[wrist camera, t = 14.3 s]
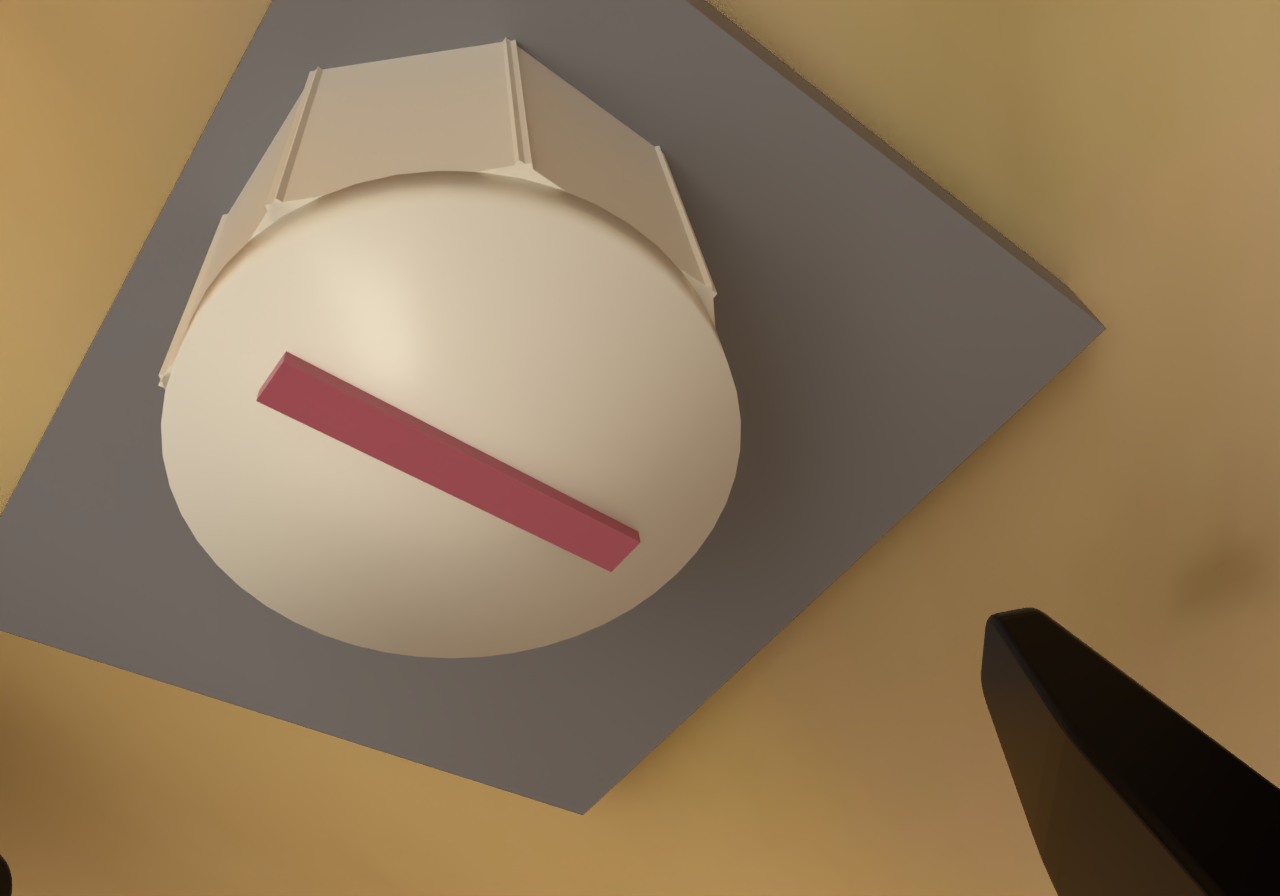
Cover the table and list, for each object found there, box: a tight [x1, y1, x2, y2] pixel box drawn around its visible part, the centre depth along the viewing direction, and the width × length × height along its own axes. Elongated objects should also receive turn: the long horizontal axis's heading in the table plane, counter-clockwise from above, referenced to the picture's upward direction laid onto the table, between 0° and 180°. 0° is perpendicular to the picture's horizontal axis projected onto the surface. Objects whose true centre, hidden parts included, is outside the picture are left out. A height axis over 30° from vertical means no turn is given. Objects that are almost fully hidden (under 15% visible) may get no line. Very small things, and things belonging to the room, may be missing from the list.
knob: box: [158, 38, 741, 658], centre depth 14 cm, size 7×7×5 cm
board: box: [0, 0, 1106, 815], centre depth 18 cm, size 16×14×5 cm
